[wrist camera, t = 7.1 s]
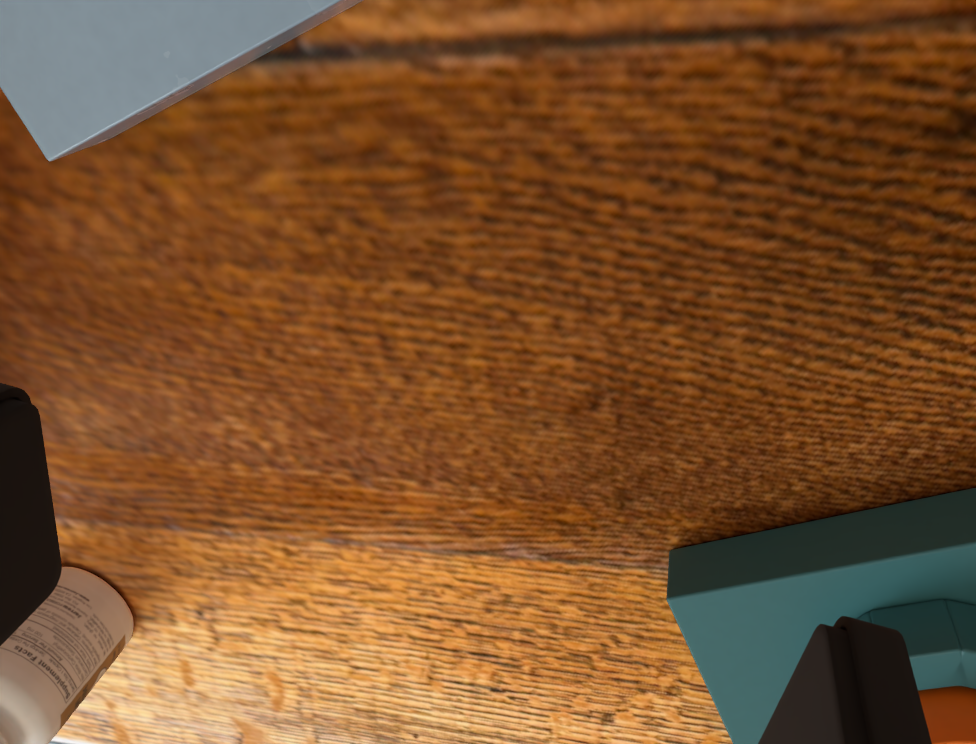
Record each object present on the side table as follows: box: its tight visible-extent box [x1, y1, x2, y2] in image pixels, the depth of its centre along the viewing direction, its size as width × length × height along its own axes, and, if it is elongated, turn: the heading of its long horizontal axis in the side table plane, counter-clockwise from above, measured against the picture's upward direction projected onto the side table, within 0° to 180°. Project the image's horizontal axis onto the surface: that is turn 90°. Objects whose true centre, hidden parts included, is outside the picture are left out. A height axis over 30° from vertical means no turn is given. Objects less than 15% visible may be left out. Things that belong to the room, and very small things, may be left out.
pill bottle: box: [0, 567, 134, 744], centre depth 30 cm, size 4×4×8 cm
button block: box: [667, 488, 976, 744], centre depth 23 cm, size 12×10×4 cm
